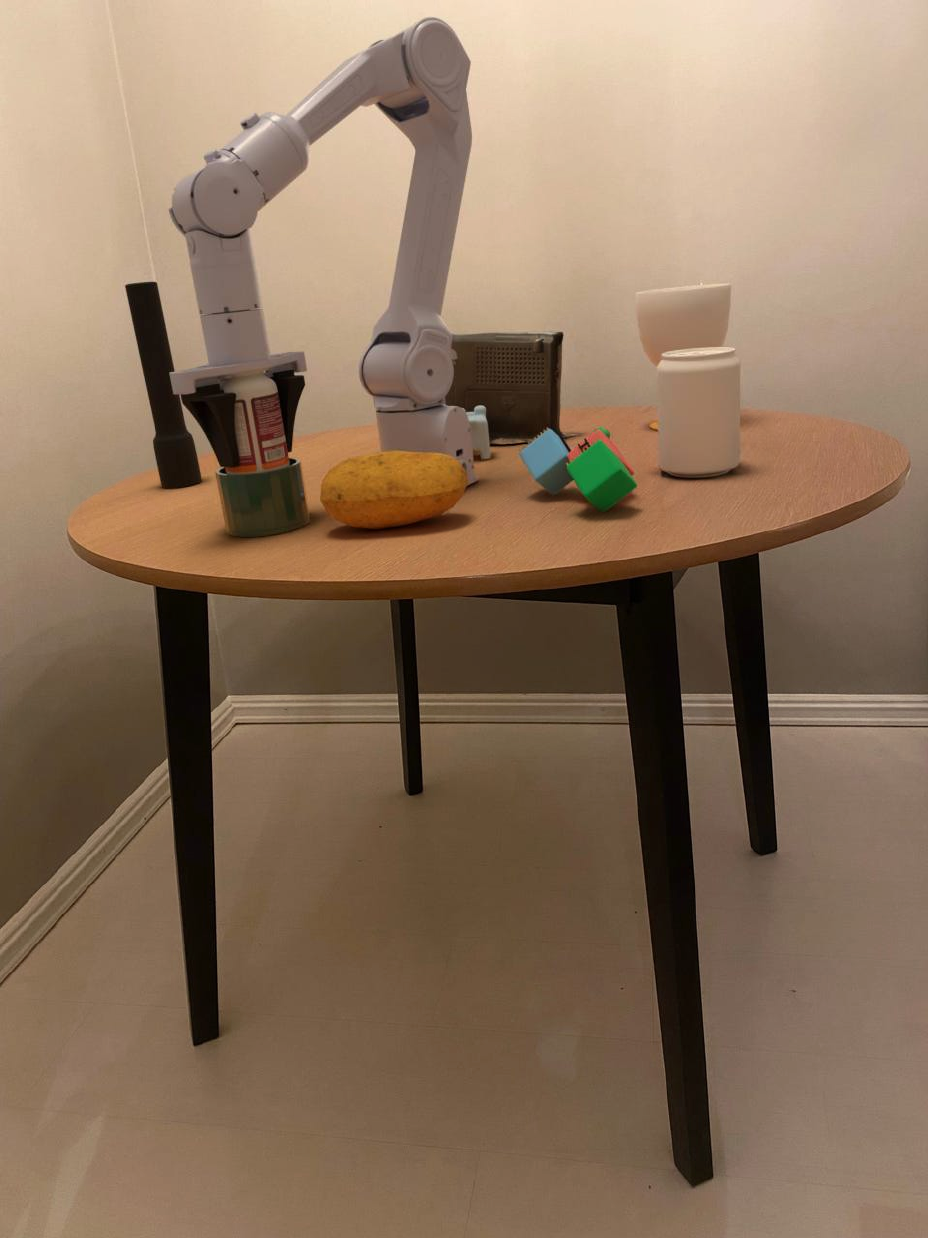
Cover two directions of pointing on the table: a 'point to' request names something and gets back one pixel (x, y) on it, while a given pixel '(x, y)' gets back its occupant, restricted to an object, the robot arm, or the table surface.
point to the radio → (509, 382)
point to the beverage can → (699, 411)
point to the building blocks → (580, 466)
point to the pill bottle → (257, 423)
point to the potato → (392, 488)
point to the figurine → (479, 431)
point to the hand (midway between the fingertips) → (257, 459)
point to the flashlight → (162, 389)
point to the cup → (682, 319)
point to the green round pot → (263, 501)
